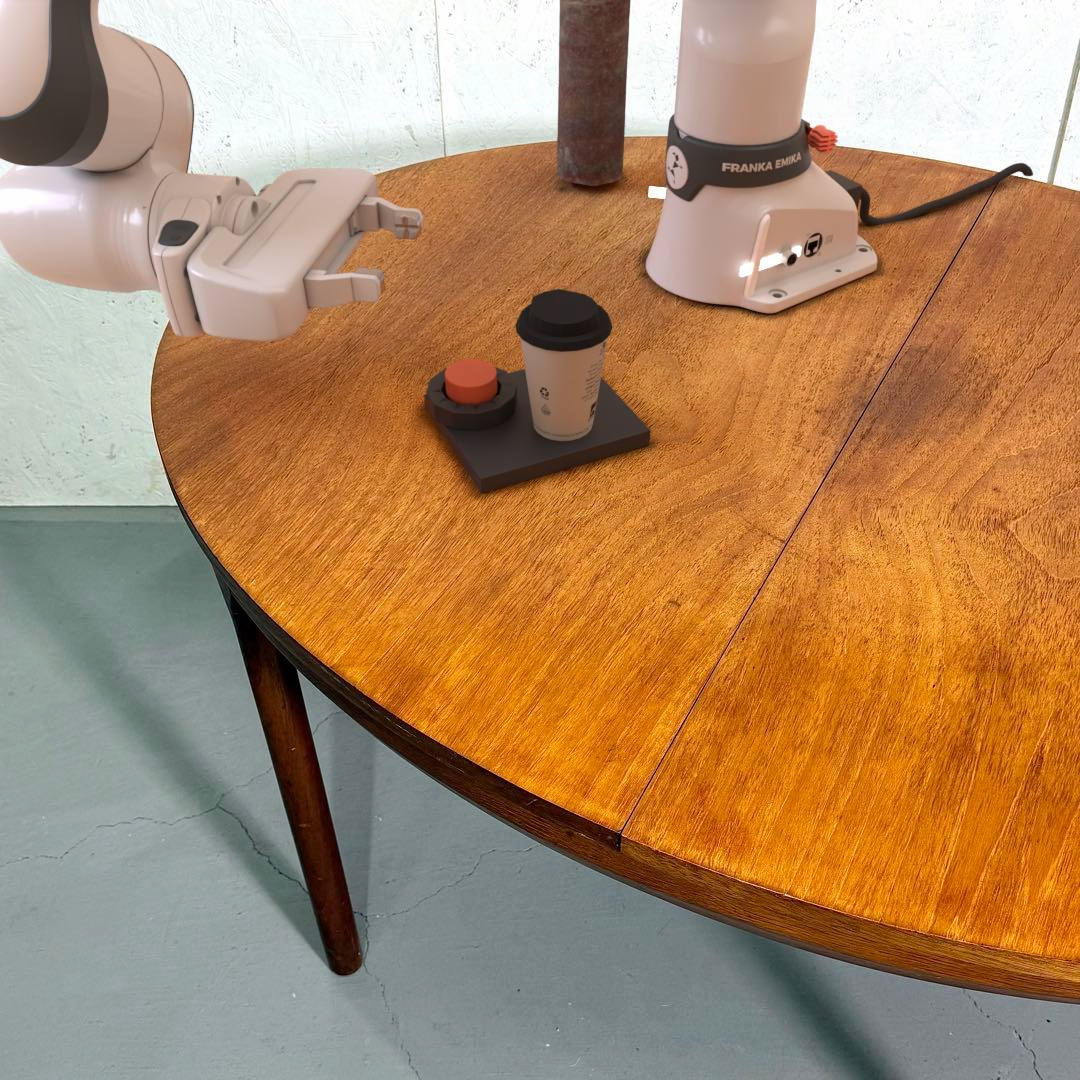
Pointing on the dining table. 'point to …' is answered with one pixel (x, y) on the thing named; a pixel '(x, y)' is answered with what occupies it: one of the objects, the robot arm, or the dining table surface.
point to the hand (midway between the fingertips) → (402, 253)
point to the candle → (592, 90)
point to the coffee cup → (563, 361)
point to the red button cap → (471, 381)
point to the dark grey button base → (526, 433)
